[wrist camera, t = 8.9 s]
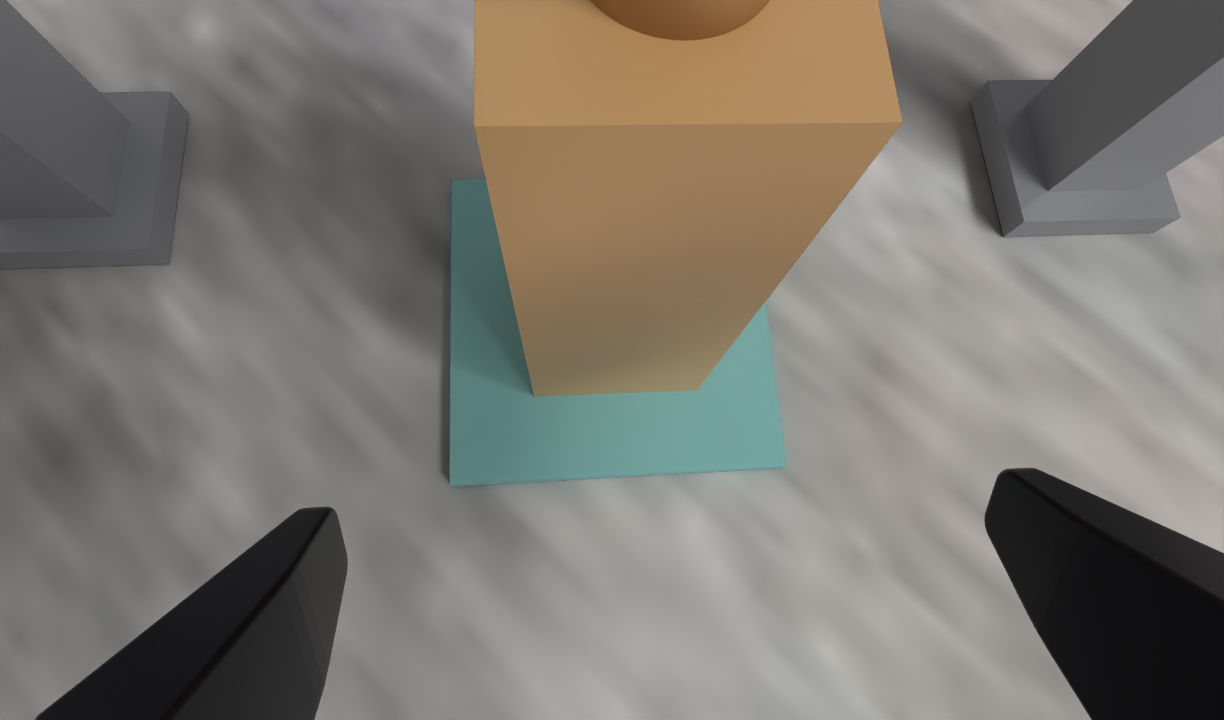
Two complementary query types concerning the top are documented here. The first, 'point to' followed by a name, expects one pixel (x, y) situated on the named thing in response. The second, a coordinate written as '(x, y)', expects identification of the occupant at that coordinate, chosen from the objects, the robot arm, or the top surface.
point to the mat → (585, 424)
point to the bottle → (666, 169)
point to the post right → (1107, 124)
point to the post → (81, 162)
